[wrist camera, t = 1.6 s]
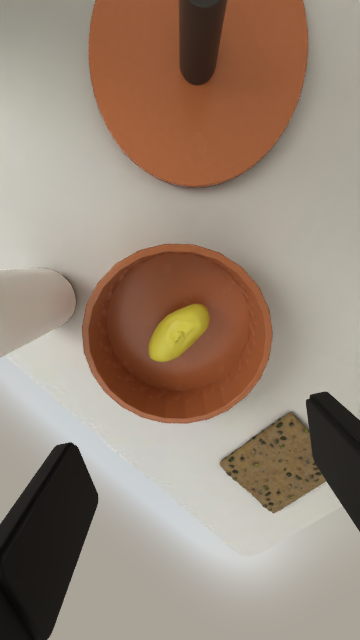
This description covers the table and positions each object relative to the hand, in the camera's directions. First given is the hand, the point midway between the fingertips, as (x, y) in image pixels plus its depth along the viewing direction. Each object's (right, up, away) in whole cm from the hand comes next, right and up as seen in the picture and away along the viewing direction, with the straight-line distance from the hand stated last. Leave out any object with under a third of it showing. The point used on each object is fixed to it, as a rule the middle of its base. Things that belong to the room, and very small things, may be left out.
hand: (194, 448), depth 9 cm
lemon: (-1, +4, +16) cm, 17 cm away
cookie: (+13, -14, +21) cm, 29 cm away
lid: (+1, +26, +10) cm, 28 cm away
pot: (-1, +4, +16) cm, 17 cm away
